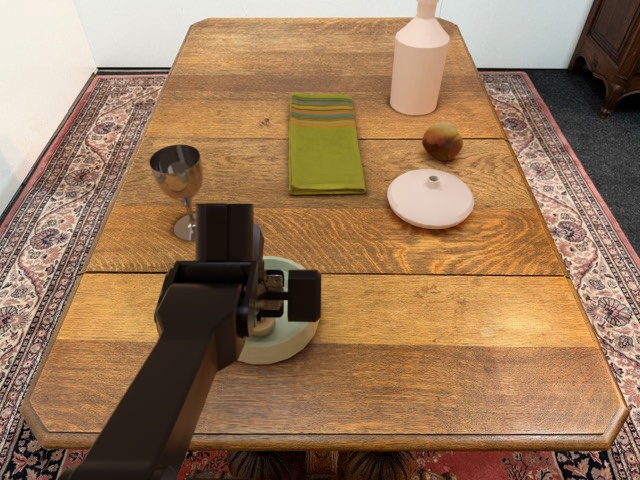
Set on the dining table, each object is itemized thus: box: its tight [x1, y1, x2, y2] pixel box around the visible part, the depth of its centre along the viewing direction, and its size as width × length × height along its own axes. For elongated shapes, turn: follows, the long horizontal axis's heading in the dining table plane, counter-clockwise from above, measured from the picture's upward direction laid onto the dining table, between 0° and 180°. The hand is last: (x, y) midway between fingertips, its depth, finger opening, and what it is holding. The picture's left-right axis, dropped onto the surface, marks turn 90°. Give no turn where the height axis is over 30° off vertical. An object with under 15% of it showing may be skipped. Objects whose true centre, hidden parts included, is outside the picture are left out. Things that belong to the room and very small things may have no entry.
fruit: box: [421, 120, 464, 162], centre depth 97 cm, size 8×8×8 cm
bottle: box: [389, 0, 451, 116], centre depth 107 cm, size 12×12×25 cm
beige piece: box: [252, 318, 276, 337], centre depth 65 cm, size 5×5×13 cm
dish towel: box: [288, 92, 367, 195], centre depth 103 cm, size 15×36×3 cm, turn 2°
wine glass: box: [149, 144, 204, 241], centre depth 81 cm, size 8×8×15 cm
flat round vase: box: [386, 168, 475, 230], centre depth 86 cm, size 16×16×7 cm
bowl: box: [237, 255, 320, 365], centre depth 70 cm, size 16×16×5 cm
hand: (255, 287), depth 66 cm, fingers closed on beige piece, 2 cm apart
